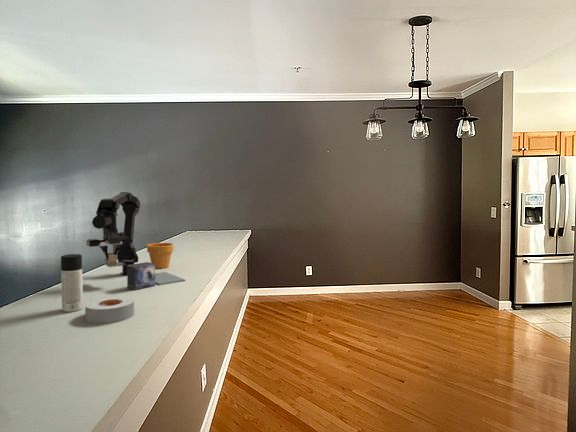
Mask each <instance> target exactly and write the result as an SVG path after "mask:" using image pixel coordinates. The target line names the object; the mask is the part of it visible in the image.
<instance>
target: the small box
mask: <svg viewBox="0 0 576 432" xmlns="http://www.w3.org/2000/svg"><path fill="white" fill-rule="evenodd" d="M155 273H156V268H155V264H153V263H151V262H149V261H145V262H139V263H134V264H132V265H127V275H126V276H127V277H126V279H127V281H126V282H127V286H126V288H127V289H130V290H132V291H137V290H142V289H147V288H152V287H156V283H155Z"/></svg>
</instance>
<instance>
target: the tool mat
mask: <svg viewBox="0 0 576 432" xmlns="http://www.w3.org/2000/svg"><path fill="white" fill-rule="evenodd" d="M185 281H186V279H185V278H183V277H180V276H177V275H175V274H172V273H169V272H166V271H163V272H157V273H156V272H155V285H158V286H162V285H163V286H164V285H168V284H175V283H181V282H185Z"/></svg>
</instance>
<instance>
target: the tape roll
mask: <svg viewBox="0 0 576 432" xmlns="http://www.w3.org/2000/svg"><path fill="white" fill-rule="evenodd" d="M84 310H85V313H84V314H85V321H86V322H87V323H89V324H94V325H98V324H99V325H102V324H103V325H104V324H105V325H106V324H113V323H120V322H123V321H125V320H128V319H130V318H132V317H133V316H134V315H135V300H134V299H133V298H131V297H127V296H110V297H103V298H97V299H94V300H91V301H89V302H87V303H86V304H85V306H84Z"/></svg>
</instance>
